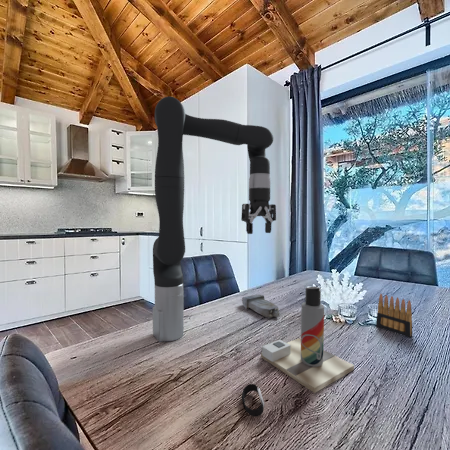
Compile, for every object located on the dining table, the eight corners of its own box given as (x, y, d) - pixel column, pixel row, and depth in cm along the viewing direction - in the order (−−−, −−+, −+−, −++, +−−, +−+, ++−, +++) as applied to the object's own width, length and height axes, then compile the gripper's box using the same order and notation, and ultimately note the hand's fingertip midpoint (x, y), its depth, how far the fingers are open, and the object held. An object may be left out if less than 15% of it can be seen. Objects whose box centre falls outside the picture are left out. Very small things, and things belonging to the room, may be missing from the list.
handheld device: (268, 322, 100) (268, 310, 99) (239, 306, 117) (239, 295, 117) (288, 317, 104) (288, 305, 104) (256, 302, 122) (256, 292, 122)
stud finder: (272, 361, 71) (272, 351, 71) (262, 355, 74) (262, 345, 74) (290, 354, 75) (290, 344, 75) (279, 347, 78) (280, 338, 78)
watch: (268, 418, 53) (268, 401, 53) (245, 420, 53) (245, 402, 53) (259, 392, 61) (259, 377, 61) (239, 394, 61) (239, 378, 60)
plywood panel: (314, 393, 61) (314, 387, 61) (260, 357, 75) (260, 352, 75) (354, 369, 70) (354, 364, 70) (299, 341, 84) (299, 337, 84)
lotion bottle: (312, 369, 67) (313, 291, 66) (296, 358, 72) (297, 285, 71) (327, 363, 70) (329, 287, 69) (311, 353, 75) (312, 282, 74)
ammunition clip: (412, 336, 89) (413, 300, 88) (410, 337, 87) (411, 301, 87) (378, 325, 97) (379, 292, 97) (375, 326, 96) (377, 293, 95)
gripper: (250, 185, 88) (250, 235, 89) (281, 187, 96) (281, 233, 97) (237, 187, 94) (236, 233, 95) (267, 189, 102) (266, 231, 103)
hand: (259, 233), depth 96 cm, fingers open, 8 cm apart
